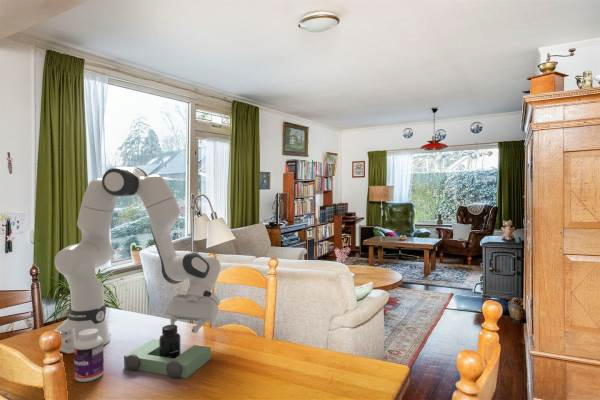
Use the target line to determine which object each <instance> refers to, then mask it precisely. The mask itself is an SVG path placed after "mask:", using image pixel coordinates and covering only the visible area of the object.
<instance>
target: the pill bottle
mask: <svg viewBox="0 0 600 400" xmlns="http://www.w3.org/2000/svg"><path fill="white" fill-rule="evenodd" d="M98 334H99V333H98V329H86V330H83V331H80V332H79V333H78V338H79V339H78V340H77V341H76V342H75V343H74V353H73V358H74V359H73V363H74V365H73V366H74V368H73V369H74V379H75V380H76V381H77V382H79V383H80V382H81V383H83V382H84V383H87V382H92V381H95V380H97V379H99V378H100V377H101V376H103V374H104V372H105V371H104V370H105V365H104V364H105V363H104V361H105V360H104V345H103V339H102V337H100V336H98Z"/></svg>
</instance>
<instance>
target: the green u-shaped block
mask: <svg viewBox="0 0 600 400" xmlns="http://www.w3.org/2000/svg"><path fill="white" fill-rule="evenodd" d="M211 349H212V348H211V347H210V346H205V345H204V346H203V345H198V344H197V345H196V344H193V345H191V346H190V347H189V348H188V349H186V350H185V351H184V352H182V353H181V354H180V355H179V356H178V357H176V358H175V359H173V358H167V357H160V356H159V339H153V338H152V339H151V340H149V341H148V342H145V343H144V344H143V345H141V346H139V347H137V348H136V349H133V350H132V351H130V352H129V353H126V354H125V355H123V368H124V369H127V370H128V371H130V372H134V371H141V372H147V373H151V374H152V373H153V374H158V375H165V376H168V377H170V378H172V379H177V378H183V379H188V377H190V376H191V375H192V374H194V373H195V372H196V371H198V370H199V369H200V368H201V367H202V366H204V365H205V364H206V363H207V362H209V361H210V360H212V352H211V351H212V350H211Z"/></svg>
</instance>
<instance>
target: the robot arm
mask: <svg viewBox="0 0 600 400" xmlns="http://www.w3.org/2000/svg"><path fill="white" fill-rule="evenodd" d="M130 196H137V197H139V198H140V199H141V201H142V203H143V205H144V207H145V210H146V212H147V214H148V217H149V221H150V229H151V234H152V238H153V242H154V245H155V247H156V252H157V253H158V257H159V259H160V264H161V266H160V267H161V273H162V277H163V278H164V280H165V281H167V282H168V283H169V284H171V285H172V284H173V285H176V284H180V283H182V282H185V281H187V280H188V281H189V282H190V284H189V287H188V289H187V290H186V293H185V294H179V293H177V295H176V294H175V295H174V296H173V297H172V298H171V300H170V301H169V303H168V304H167V306H166V308H165V310H164V315H165V316H166V317H167V318H168V319H169V320H170V325H176V322H178V320H181V321H192V322H198V323H197V324H196V325H193V326H192V329H191V332H192V333H193V334H198V332H199V329H200V328H202V327H203V326H204V324H205V323H208V324H209V323H210V324H212V323H214V322H215V321H216V319H217V316H218V313H219V306H220V305H221V301H220V299H219V297H218V296H217V295H216V294H215V293H214V292H213V288H214V286H215V285H216V283H217V281H218V278H219V275H220V271H221V263H220V261H219V259H218V258H217V257H214V256H212V255H202V254H200V253H197V252H194V251H190V252H186V253H183V254H181V255H179V256H178V255H177V253H176V251H175V247H174V243H173V240H172V237H171V231H172V229H173V227H174V225H175V224H176V222H177V220H178V219H179V217H180V207H179V205H178V202H177V200H176V197H175V195H174V193H173V191H172V189H171V188H170V186H169V185H168V183H167V182H166V180H165V178H163V176H162V175H159V174H149V175H148V174H147V173H146V171H144V170H143V169H142V168H139V167H134V166H130V165H129V166H127V165H126V166H114V167H112V168H109V169H108V170H106V171H105V172H104V174H103V175H102V177H98V178H94V179H92V180H90V181H89V183H88V185H87V187H86V189H85V192H84V195H83V197H82V200H81V201H82V202H81V204H80V209H79V214H78V216H77V217H78V218H77V222H76V225H77V228H78V229H79V230H80V232H81V240H80V242H78V243H75V244H70V245H68V246H66V247H64V248H62V249H61V250H60V251H58V252H57V253H56V254H55V256H54V266H55V269H56V270H57V271H58V273H60V274H61V275H63V276H64V278H65V280H66V281H67V284H68V286H69V293H70V306H71V308H69V309H67V310H65V314H68V315H67V319H65V320H64V321H62V322H61V324H60V325H58V326H57V327H56V328H55V330H58V331H59V332H60V334H61V337H62V346H61V349H60V352H62V353H65V354H74V343H75V342H76V341H77V340H78V339H79V338H78V333H79V332H80V331H83V330H86V329H98V333H99V334H98V336H100V337H102V339H103V346H104V345H106V344H108V343H109V342H111V337H110V336H111V332H110V331H109V324H108V320H107V318H108V317H107V316H106V314H107V306H106V303H105V288H104V287H105V285H104V284H103V283H102V281H100V280H99V279H98V277H97V273H96V269H97V268H100V267H103V266H104V265H106V264H107V263H109V262H110V261H111V260H112V258H113V257H114V254H115V253H114V252H115V250H114V247H113V245H112V243H111V238H110V230H111V229H110V228H111V223H112V221H113V220H112V219H113V215H114V210H115V206H116V203H117V200H118V199H119V198H120V197H130Z"/></svg>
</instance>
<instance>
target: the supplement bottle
mask: <svg viewBox="0 0 600 400" xmlns="http://www.w3.org/2000/svg"><path fill="white" fill-rule="evenodd" d="M161 333H162V334H161V335H160V337H159V339H158V340H159V356H160V357H167V358H173V359H175V358H176V357H178V356H179V355H180V354H182V353H181V346H182V345H181V335H180V333H178V325H176V324H175V325H171V324H166V325H164V326H163V327H162V330H161Z"/></svg>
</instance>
